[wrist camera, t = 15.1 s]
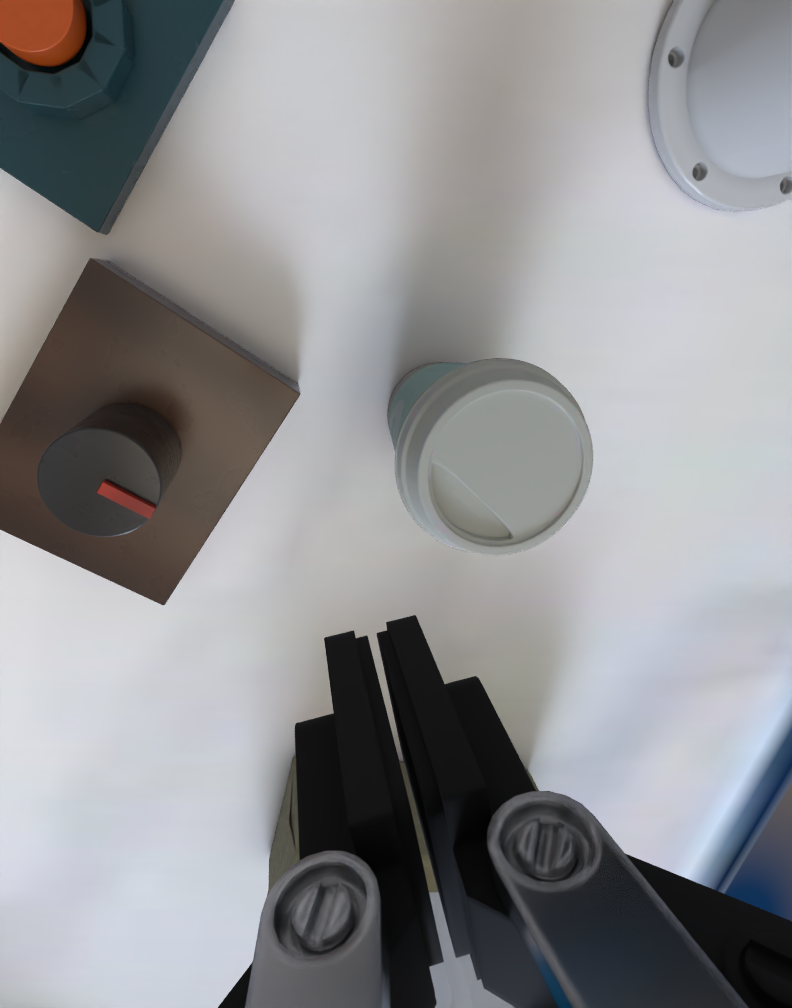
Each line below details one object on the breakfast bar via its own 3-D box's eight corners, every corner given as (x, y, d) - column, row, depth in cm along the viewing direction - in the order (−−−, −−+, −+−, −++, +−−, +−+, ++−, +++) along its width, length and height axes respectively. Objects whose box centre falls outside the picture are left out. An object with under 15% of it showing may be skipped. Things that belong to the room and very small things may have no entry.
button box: (8, -198, 24) (-35, -273, 20) (235, -1, 27) (229, -39, 24) (-117, 86, 26) (-174, 58, 23) (107, 235, 29) (86, 229, 26)
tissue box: (264, 858, 44) (258, 1139, 30) (289, 752, 42) (295, 1005, 27) (496, 863, 49) (588, 1108, 35) (532, 768, 46) (649, 991, 32)
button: (11, -70, 23) (-10, -97, 21) (103, 4, 24) (90, -16, 22) (-31, 21, 23) (-54, 1, 22) (61, 88, 24) (46, 74, 23)
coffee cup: (347, 359, 33) (381, 397, 22) (492, 321, 34) (595, 339, 23) (383, 498, 36) (428, 592, 25) (515, 461, 37) (615, 536, 26)
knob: (60, 465, 30) (12, 505, 24) (106, 383, 29) (66, 406, 23) (152, 512, 31) (126, 559, 26) (199, 435, 30) (181, 468, 25)
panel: (107, 260, 30) (89, 257, 27) (299, 384, 33) (300, 393, 30) (-18, 489, 32) (-46, 508, 29) (172, 581, 36) (163, 606, 33)
